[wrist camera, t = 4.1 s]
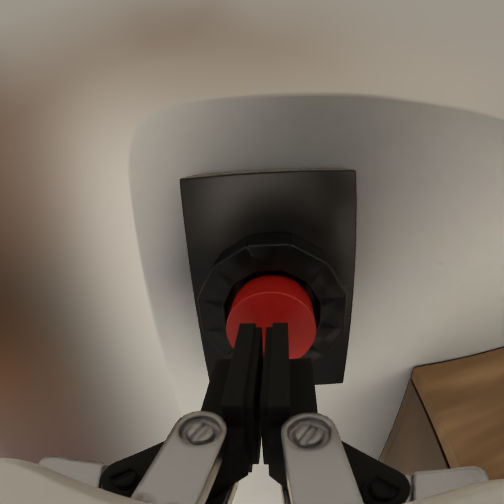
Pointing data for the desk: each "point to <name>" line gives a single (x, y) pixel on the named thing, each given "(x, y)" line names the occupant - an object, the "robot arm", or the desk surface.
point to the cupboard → (413, 439)
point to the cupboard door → (467, 409)
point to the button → (274, 311)
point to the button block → (274, 250)
